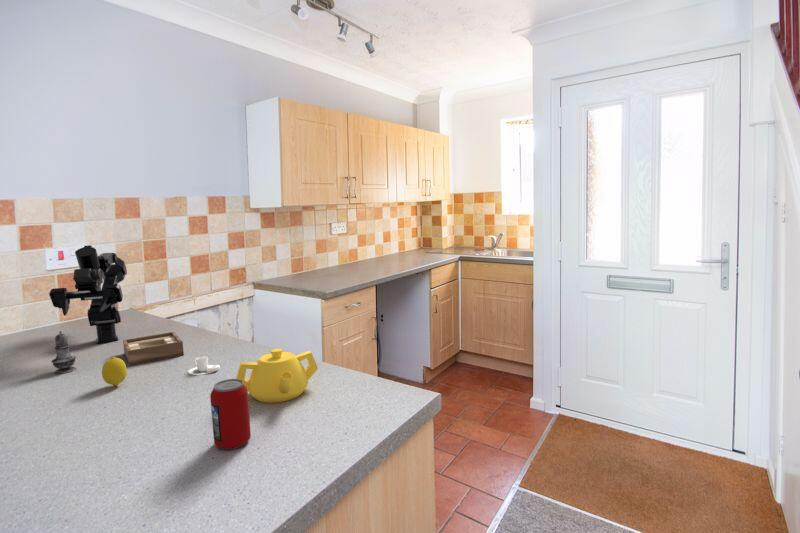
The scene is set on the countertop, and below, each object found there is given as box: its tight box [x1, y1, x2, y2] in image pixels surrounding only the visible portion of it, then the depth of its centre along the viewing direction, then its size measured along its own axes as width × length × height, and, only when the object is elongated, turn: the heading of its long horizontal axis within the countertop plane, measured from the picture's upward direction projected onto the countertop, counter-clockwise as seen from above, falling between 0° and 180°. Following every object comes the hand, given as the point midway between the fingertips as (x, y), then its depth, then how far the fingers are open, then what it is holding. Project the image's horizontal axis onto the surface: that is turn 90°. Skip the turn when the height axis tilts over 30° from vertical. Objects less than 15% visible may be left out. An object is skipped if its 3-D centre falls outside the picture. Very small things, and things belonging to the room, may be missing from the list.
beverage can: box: [209, 378, 252, 450], centre depth 87 cm, size 7×7×12 cm
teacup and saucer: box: [187, 355, 221, 376], centre depth 129 cm, size 9×8×4 cm
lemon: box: [101, 356, 128, 387], centre depth 118 cm, size 6×6×8 cm
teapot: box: [235, 348, 319, 404], centre depth 109 cm, size 20×18×11 cm
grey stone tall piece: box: [50, 330, 77, 375], centre depth 131 cm, size 6×6×12 cm
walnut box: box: [122, 331, 184, 367], centre depth 145 cm, size 15×15×4 cm
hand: (82, 312), depth 138 cm, fingers open, 9 cm apart
